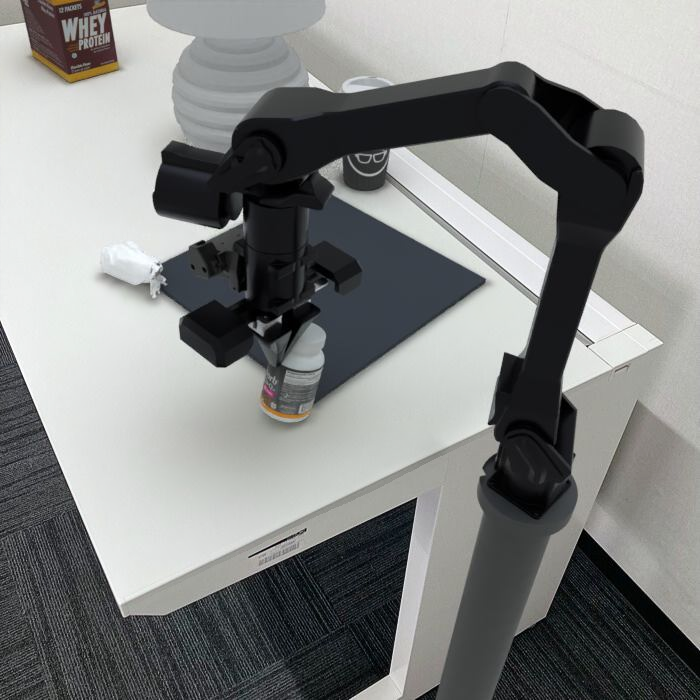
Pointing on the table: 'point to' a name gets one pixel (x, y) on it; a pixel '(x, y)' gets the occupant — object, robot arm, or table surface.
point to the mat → (360, 304)
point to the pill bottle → (295, 379)
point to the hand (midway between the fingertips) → (274, 364)
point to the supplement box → (71, 36)
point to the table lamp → (231, 59)
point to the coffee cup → (369, 166)
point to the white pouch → (132, 265)
